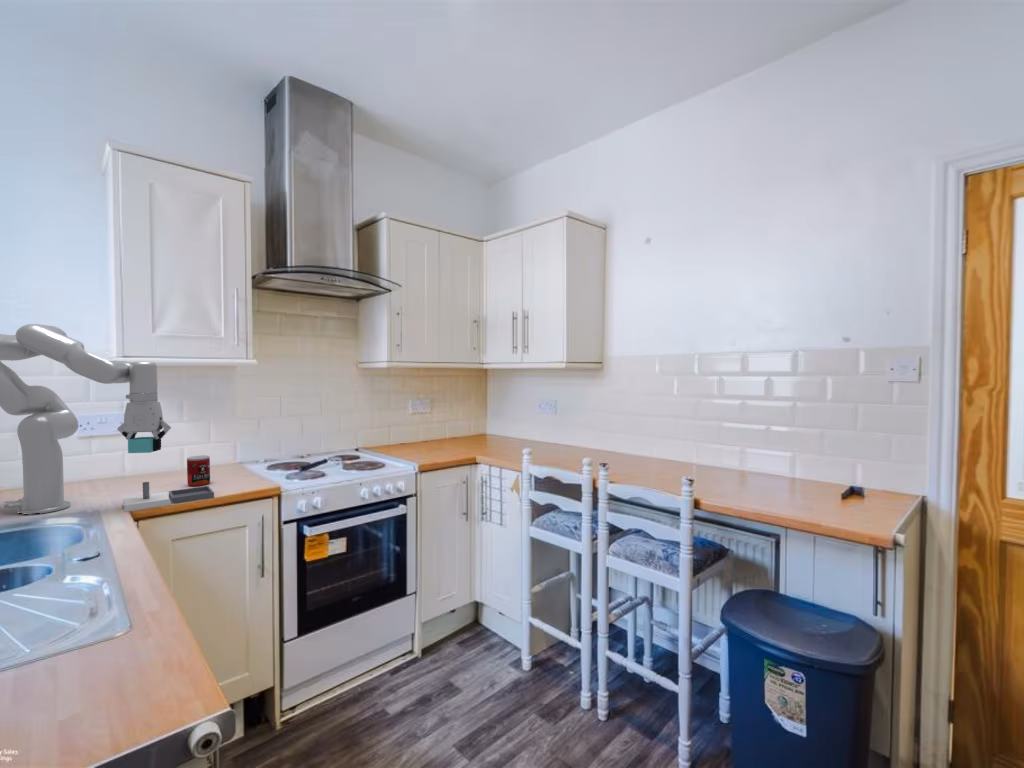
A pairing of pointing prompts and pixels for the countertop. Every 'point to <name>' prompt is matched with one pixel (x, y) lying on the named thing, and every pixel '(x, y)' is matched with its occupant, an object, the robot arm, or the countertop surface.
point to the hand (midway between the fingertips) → (144, 450)
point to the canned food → (198, 470)
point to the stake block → (145, 500)
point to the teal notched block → (141, 445)
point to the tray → (191, 494)
